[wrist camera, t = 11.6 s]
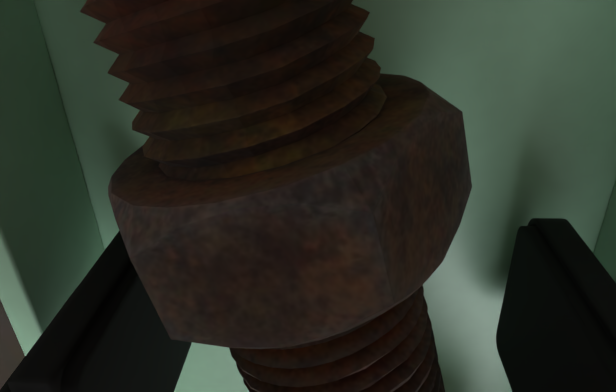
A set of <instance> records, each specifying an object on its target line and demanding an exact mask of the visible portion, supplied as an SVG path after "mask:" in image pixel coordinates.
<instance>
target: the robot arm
mask: <svg viewBox="0 0 616 392" xmlns="http://www.w3.org/2000/svg"><path fill="white" fill-rule="evenodd" d="M191 344H192V342H186V341H179V340H172V339H171V338H170V337H169V335H168V333H167V331H166V329H165V327H164V325H163V323H162V321H161V319H160V317H159V315H158V313H157V311H156V309H155V307H154V305H153V303H152V301H151V299H150V297H149V295H148V293H147V291H146V289H145V287H144V285H143V284H142V282H141V280H140V278H139V276H138V274H137V272H136V270H135V268H134V266H133V264H132V262H131V260H130V257H129V255H128V252H127V249H126V247H125V244H124V241H123V239H122V236H121V233H120V231H119V232H118V233H117V234H116V236H115V237H114V238H113V240H112V241H111V242H110V244H109V245H108V246H107V248H106V249H105V250H104V252H103V253H102V255H101V256H100V257H99V259H98V260H97V261H96V263H95V264H94V265H93V267H92V268H91V269H90V271H89V272H88V273H87V275H86V276H85V277H84V279H83V280H82V281H81V283H80V284H79V285H78V287H77V288H76V289H75V290H74V292H73V293H72V294H71V296H70V297H69V298H68V300H67V301H66V302H65V304H64V305H63V306H62V308H61V309H60V310H59V312H58V313H57V314H56V316H55V317H54V318H53V320H52V321H51V323H50V324H49V325H48V327H47V328H46V329H45V331H44V332H43V333H42V335H41V336H40V337H39V339H38V340H37V341H36V343H35V344H34V345H33V347H32V348H31V349H30V351H29V352H28V353H27V355H26V356H25V357H24V359H23V360H22V361H21V363H20V364H19V366H18V367H17V368H16V370H15V371H14V372H13V374H12V375H11V376H10V378H9V379H8V380H7V382H6V383H5V384H4V386H3V387H2V388H1V390H0V392H174V390H175V388H176V385H177V382H178V379H179V377H180V374H181V371H182V368H183V366H184V363H185V360H186V358H187V355H188V352H189V349H190V347H191ZM496 345H497V350H498V354H499V356H500V359H501V362H502V365H503V367H504V370H505V373H506V376H507V378H508V381H509V384H510V387H511V389H512V392H616V282H615V281H614V280H613V279H612V277H611V276H610V275H609V273H608V272H607V271H606V269H605V268H604V267H603V265H602V264H601V263H600V262H599V260H598V259H597V258H596V256H595V255H594V254H593V252H592V251H591V250H590V249H589V247H588V246H587V245H586V243H585V242H584V241H583V239H582V238H581V237H580V235H579V234H578V233H577V232H576V230H575V229H574V228H573V226H572V225H571V224H570V222H569V221H568V220H566V219H563V218H532V219H531V220H530V221H529V223H528V225H527V226H520V227H519V229H518V231H517V235H516V240H515V245H514V250H513V255H512V259H511V264H510V269H509V274H508V279H507V283H506V288H505V293H504V298H503V303H502V307H501V312H500V317H499V322H498V327H497V332H496Z"/></svg>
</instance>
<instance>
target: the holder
mask: <svg viewBox="0 0 616 392" xmlns="http://www.w3.org/2000/svg"><path fill="white" fill-rule="evenodd" d="M86 1H87V0H0V299H1V302H2V304H3V306H4V309H5V311H6V313H7V315H8V318H9V320H10V322H11V325H12V327H13V329H14V332H15V334H16V336H17V338H18V341H19V343H20V345H21V348H22V350H23V352H24V354H25V356H26V355H27V353H28V352H29V351H30V349H31V348H32V347H33V345H34V344H35V343H36V341H37V340H38V339H39V337H40V336H41V335H42V333H43V332H44V331H45V329H46V328H47V327H48V325H49V324H50V323H51V321H52V320H53V318H54V317H55V316H56V314H57V313H58V312H59V310H60V309H61V308H62V306H63V305H64V304H65V302H66V301H67V300H68V298H69V297H70V296H71V294H72V293H73V292H74V290H75V289H76V288H77V287H78V285H79V284H80V283H81V281H82V280H83V279H84V277H85V276H86V275H87V273H88V272H89V271H90V269H91V268H92V267H93V265H94V264H95V263H96V261H97V260H98V259H99V257H100V256H101V255H102V253H103V252H104V250H105V249H106V248H107V246H108V245H109V244H110V242H111V241H112V240H113V238H114V237H115V236H116V234H117V233H118V232H119V228H118V225H117V222H116V220H115V217H114V213H113V210H112V206H111V203H110V200H109V196H108V185H109V182H110V179H111V176H112V175H113V174H114V172H115V171H116V170H117V169H118V167H119V166H120V165H121V164H122V162H123V161H124V160H125V159H126V158H127V157H129V156H130V155H131V154H133V153H134V152H135V151H136V150H138V149H139V148H140V147H141V146H143V145H144V144H145V142H146V141H147V139H148V138H149V136H147V135H144V134H141V133H139V132H136V131H133V130H132V121H133V120H134V118H135V117H136V115H137V114H138V112H139V111H140V110H138V109H136V108H134V107H132V106H130V105H128V104H126V103H124V102H121V101H119V98H120V97H121V95H122V94H123V92H124V91H125V89H126V88H127V86H128V85H129V83H128V82H126V81H124V80H121V79H119V78H117V77H115V76H112V75H110V74H108V71H109V69H110V68H111V66H112V65H113V63H114V62H115V60H116V58H117V57H118V55H119V54H117V53H115V52H112V51H110V50H108V49H106V48H104V47H101V46H99V45H97V44H95V43H93V42H94V41H95V39H96V38H97V36H98V35H99V33H100V32H101V30H102V29H103V27H104V26H105V24H106V23H103V22H101V21H99V20H97V19H94V18H92V17H90V16H88V15H86V14H83V13H81V12H80V10H81V9H82V7H83V6H84V4H85V3H86ZM351 4H353V5H355V6H358V7H360V8H363V9H365V10H367V11H368V12H370V13H369V15H368V18H367V19H366V21H365V23H364V24H363V26H362V27H361V29H360V32H362V33H364V34H367V35H369V36H371V37H373V38H375V40H374V47H373V50H372V51H371V53H370V54H369V55H368V57H367V58H370V59H372V60H375V61H376V62H377V64H378V65H379V66H380V67H381V70H380V73H383V74H394V75H405V76H407V77H410V78H412V79H415V80H417V81H420V82H422V83H423V84H424V85H426V86H427V87H428V88H430V89H431V90H432V91H434V92H435V93H437V94H438V95H440V96H441V97H442V98H444V99H445V100H447V101H448V102H450V103H451V104H452V105H454V106H455V107H457V108H458V109H459V110H461V111H462V112H463V120H464V128H465V136H466V143H467V151H468V159H469V167H470V174H471V182H472V189H471V192H470V195H469V198H468V201H467V204H466V207H465V211H464V214H463V217H462V220H461V223H460V226H459V228H458V230H457V232H456V234H455V237H454V239H453V241H452V243H451V245H450V247H449V250H448V252H447V254H446V256H445V258H444V260H443V262H442V263H441V264H440V266H439V267H438V268H437V269H436V270H435V271H434V273H433V274H432V275H431V276H430V277H429V278H428V279H427V281H426V282H425V283H424V284H423V288H424V297H425V300H426V303H427V306H428V315H429V317H430V320H431V324H432V329H433V333H434V338H435V345H436V349H437V354H438V363H439V366H440V368H441V374H442V378H443V383H444V388H445V392H512V389H511V387H510V384H509V381H508V378H507V376H506V373H505V370H504V367H503V365H502V362H501V359H500V356H499V354H498V350H497V345H496V332H497V327H498V322H499V317H500V312H501V307H502V303H503V298H504V293H505V288H506V283H507V279H508V274H509V269H510V264H511V259H512V255H513V250H514V245H515V240H516V235H517V231H518V229H519V227H520V226H527V225H528V223H529V221H530V220H531V219H532V218H563V219H566V220H568V221H569V222H570V224H571V225H572V226H573V228H574V229H575V230H576V232H577V233H578V234H579V235H580V237H581V238H582V239H583V241H584V242H585V243H586V245H587V246H588V247H589V249H590V250H591V251H592V252H593V254H594V255H595V256H596V258H597V259H598V260H599V262H600V263H601V264H602V265H603V267H604V268H605V269H606V271H607V272H608V273H609V275H610V276H611V277H612V279H613V280H614V281H615V282H616V0H353V1H352V3H351ZM174 392H249V390H248V389H247V387H246V386H245V384H244V382H243V377H242V376H241V375H240V373H239V371H238V369H237V365H236V361H235V360H234V359H233V358H232V356H231V352H230V349H229V348H227V347H221V346H214V345H207V344H200V343H193V342H192V344H191V347H190V349H189V352H188V355H187V358H186V360H185V363H184V366H183V368H182V371H181V374H180V377H179V379H178V382H177V385H176V388H175V390H174Z"/></svg>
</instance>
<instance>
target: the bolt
mask: <svg viewBox="0 0 616 392" xmlns="http://www.w3.org/2000/svg"><path fill="white" fill-rule="evenodd" d="M352 1H353V0H87V1H86V3H85V4H84V6H83V7H82V9H81V10H80V12H81V13H83V14H86V15H88V16H90V17H92V18H94V19H97V20H99V21H101V22H103V23H106V24H105V26H104V27H103V29H102V30H101V32H100V33H99V35H98V36H97V38H96V39H95V41H94V42H93V43H95V44H97V45H99V46H101V47H104V48H106V49H108V50H110V51H112V52H115V53H117V54H119V55H118V57H117V58H116V60H115V62H114V63H113V65H112V66H111V68H110V69H109V71H108V74H110V75H112V76H115V77H117V78H119V79H121V80H124V81H126V82H128V83H129V85H128V86H127V88H126V89H125V91H124V92H123V94H122V95H121V97H120V98H119V101H121V102H124V103H126V104H128V105H130V106H132V107H134V108H136V109H138V110H140V111H139V112H138V114H137V115H136V117H135V118H134V120H133V121H132V130H133V131H136V132H139V133H141V134H144V135H147V136H149V138H148V139H147V141H146V142H145V144H144V145H143V146H141V147H140V148H139V149H138V150H136V151H135V152H134V153H133V154H131V155H130V156H129V157H127V158H126V159H125V160H124V161H123V162H122V164H121V165H120V166H119V167H118V169H117V170H116V171H115V172H114V174H113V175H112V176H111V179H110V182H109V185H108V196H109V200H110V203H111V206H112V210H113V213H114V217H115V220H116V222H117V225H118V228H119V231H120V233H121V236H122V239H123V241H124V244H125V247H126V249H127V252H128V255H129V257H130V260H131V262H132V264H133V266H134V268H135V270H136V272H137V274H138V276H139V278H140V280H141V282H142V284H143V285H144V287H145V289H146V291H147V293H148V295H149V297H150V299H151V301H152V303H153V305H154V307H155V309H156V311H157V313H158V315H159V317H160V319H161V321H162V323H163V325H164V327H165V329H166V331H167V333H168V335H169V337H170V338H171V339H172V340H179V341H186V342H193V343H200V344H207V345H214V346H221V347H227V348H229V349H230V352H231V356H232V358H233V359H234V360H235V361H236V365H237V369H238V371H239V373H240V375H241V376H242V377H243V382H244V384H245V386H246V387H247V389H248V390H249V392H445V388H444V383H443V378H442V374H441V368H440V366H439V363H438V354H437V349H436V345H435V338H434V333H433V329H432V324H431V320H430V317H429V315H428V306H427V303H426V300H425V297H424V288H423V284H424V283H425V282H426V281H427V279H428V278H429V277H430V276H431V275H432V274H433V273H434V271H435V270H436V269H437V268H438V267H439V266H440V264H441V263H442V262H443V260H444V258H445V256H446V254H447V252H448V250H449V247H450V245H451V243H452V241H453V239H454V237H455V234H456V232H457V230H458V228H459V226H460V223H461V220H462V217H463V214H464V211H465V207H466V204H467V201H468V198H469V195H470V192H471V189H472V182H471V174H470V167H469V159H468V151H467V143H466V136H465V128H464V120H463V112H462V111H461V110H459V109H458V108H457V107H455V106H454V105H452V104H451V103H450V102H448V101H447V100H445V99H444V98H442V97H441V96H440V95H438V94H437V93H435V92H434V91H432V90H431V89H430V88H428V87H427V86H426V85H424V84H423V83H422V82H420V81H417V80H415V79H412V78H410V77H407V76H405V75H394V74H383V73H380V70H381V67H380V66H379V65H378V64H377V62H376V61H375V60H372V59H370V58H367V57H368V55H369V54H370V53H371V51H372V50H373V47H374V40H375V38H373V37H371V36H369V35H367V34H364V33H362V32H360V29H361V27H362V26H363V24H364V23H365V21H366V19H367V18H368V15H369V13H370V12H368V11H367V10H365V9H363V8H360V7H358V6H355V5H353V4H351V3H352Z"/></svg>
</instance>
